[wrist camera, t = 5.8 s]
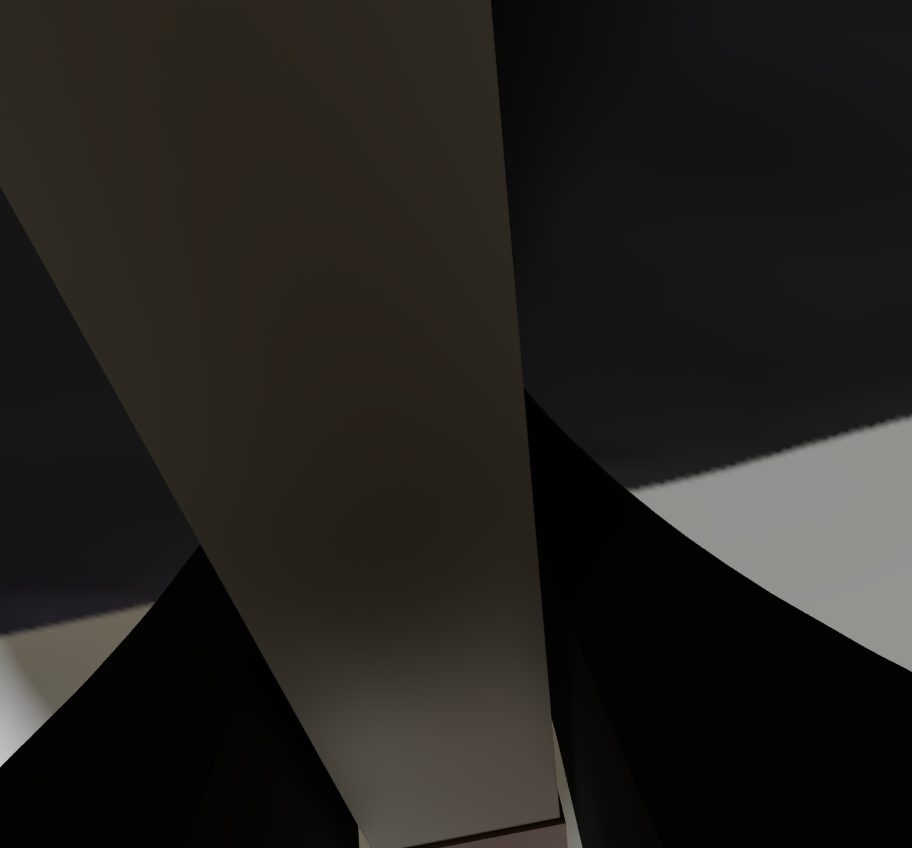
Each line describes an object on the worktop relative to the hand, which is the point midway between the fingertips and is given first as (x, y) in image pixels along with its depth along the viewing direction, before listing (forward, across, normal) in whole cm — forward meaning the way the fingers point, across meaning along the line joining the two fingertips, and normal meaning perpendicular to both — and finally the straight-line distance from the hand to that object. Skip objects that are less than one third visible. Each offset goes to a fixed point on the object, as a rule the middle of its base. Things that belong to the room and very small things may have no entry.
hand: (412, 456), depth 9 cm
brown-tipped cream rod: (+2, 0, -4) cm, 4 cm away
